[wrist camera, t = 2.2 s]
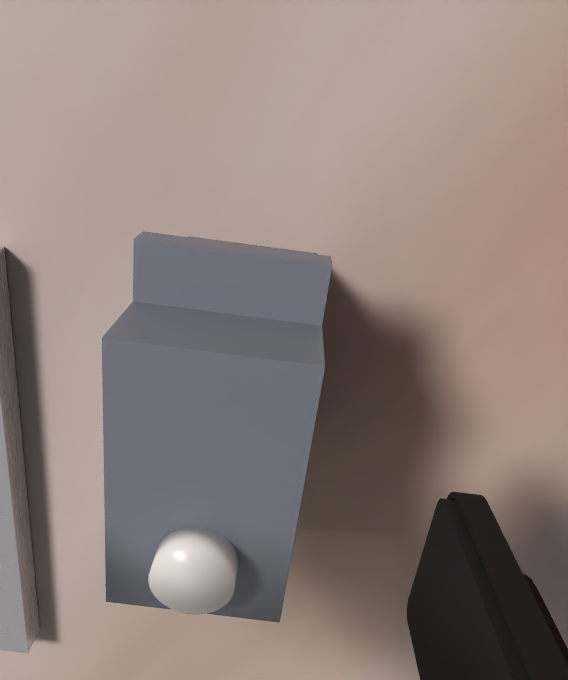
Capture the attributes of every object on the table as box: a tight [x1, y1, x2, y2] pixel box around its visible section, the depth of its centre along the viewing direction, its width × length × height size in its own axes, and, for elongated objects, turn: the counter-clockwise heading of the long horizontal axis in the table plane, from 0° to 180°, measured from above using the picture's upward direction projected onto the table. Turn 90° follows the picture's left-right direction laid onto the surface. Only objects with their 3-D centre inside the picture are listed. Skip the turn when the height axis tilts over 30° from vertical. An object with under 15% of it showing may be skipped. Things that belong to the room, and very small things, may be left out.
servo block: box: [102, 232, 332, 622], centre depth 13 cm, size 8×4×8 cm, turn 173°
